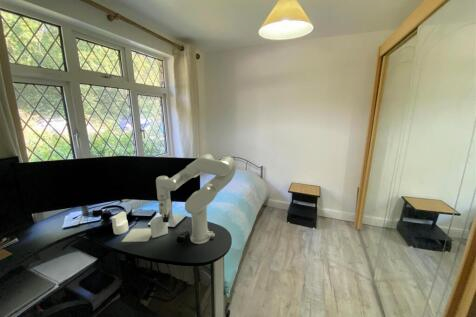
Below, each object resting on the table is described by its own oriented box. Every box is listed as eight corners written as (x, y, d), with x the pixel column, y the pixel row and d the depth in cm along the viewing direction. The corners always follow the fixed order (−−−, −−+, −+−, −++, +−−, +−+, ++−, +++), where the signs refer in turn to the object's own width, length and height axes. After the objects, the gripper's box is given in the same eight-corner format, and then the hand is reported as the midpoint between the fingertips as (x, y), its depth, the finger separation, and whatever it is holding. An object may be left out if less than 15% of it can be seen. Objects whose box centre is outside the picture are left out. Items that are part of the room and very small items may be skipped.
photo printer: (167, 231, 135) (165, 213, 134) (169, 233, 132) (166, 215, 130) (151, 236, 130) (148, 218, 128) (152, 239, 126) (149, 220, 125)
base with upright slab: (121, 225, 142) (119, 210, 139) (131, 227, 140) (129, 212, 137) (110, 233, 134) (107, 217, 131) (121, 235, 131) (118, 218, 128)
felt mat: (155, 228, 138) (155, 228, 138) (147, 241, 125) (147, 240, 125) (132, 229, 138) (132, 228, 138) (121, 242, 124) (121, 241, 124)
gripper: (166, 200, 117) (168, 228, 122) (173, 190, 132) (175, 215, 136) (153, 200, 117) (155, 228, 121) (161, 190, 132) (164, 215, 136)
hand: (166, 221), depth 129 cm, fingers closed
